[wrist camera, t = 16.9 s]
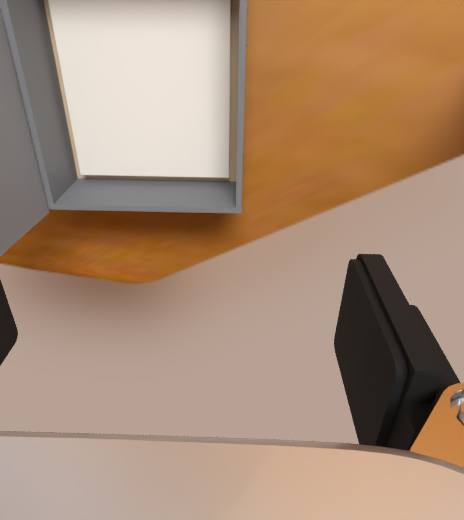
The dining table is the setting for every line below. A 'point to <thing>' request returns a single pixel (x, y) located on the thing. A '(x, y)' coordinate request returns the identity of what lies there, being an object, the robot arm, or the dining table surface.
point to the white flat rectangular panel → (147, 85)
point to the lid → (16, 158)
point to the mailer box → (62, 140)
